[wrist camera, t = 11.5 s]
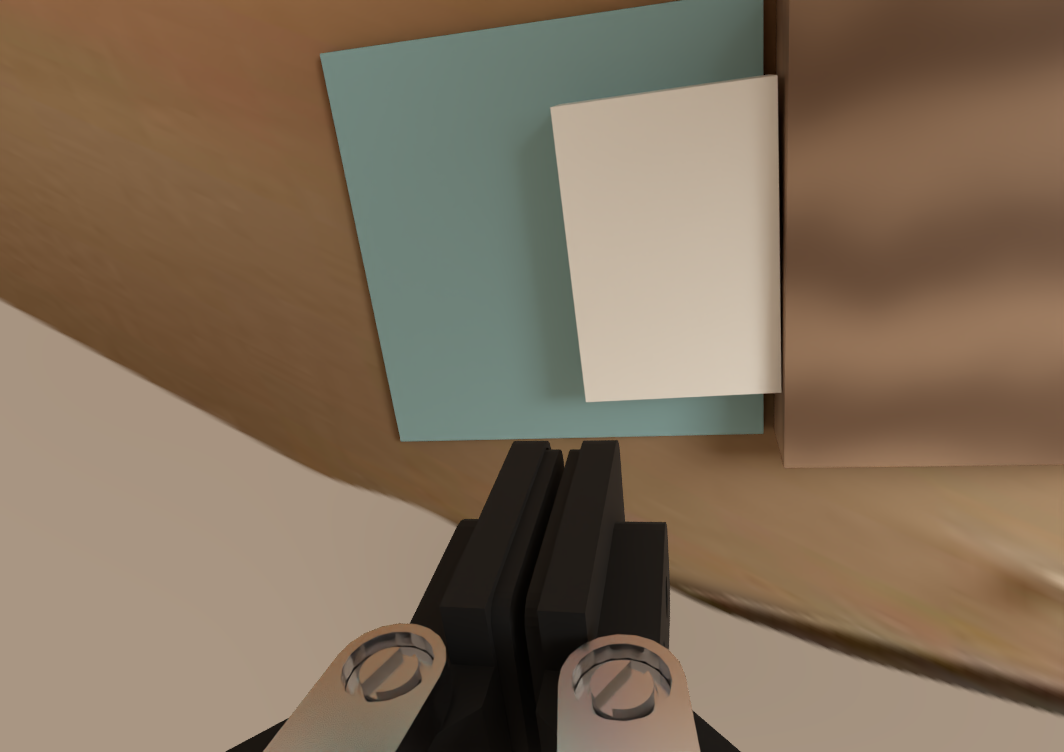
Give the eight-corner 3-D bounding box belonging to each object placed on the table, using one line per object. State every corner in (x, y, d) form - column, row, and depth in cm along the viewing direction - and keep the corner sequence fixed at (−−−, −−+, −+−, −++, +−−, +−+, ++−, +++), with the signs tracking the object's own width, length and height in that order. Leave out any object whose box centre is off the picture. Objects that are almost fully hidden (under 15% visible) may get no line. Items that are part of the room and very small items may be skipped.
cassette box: (559, 104, 29) (550, 107, 27) (769, 74, 27) (777, 75, 25) (592, 380, 33) (585, 402, 31) (774, 370, 32) (781, 392, 29)
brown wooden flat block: (776, -13, 26) (789, -23, 23) (1306, -91, 23) (1406, -116, 20) (773, 429, 33) (784, 467, 30) (1183, 420, 30) (1244, 462, 27)
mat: (323, 53, 30) (319, 53, 30) (762, -11, 26) (763, -12, 26) (403, 437, 37) (400, 441, 37) (762, 429, 33) (763, 433, 33)
